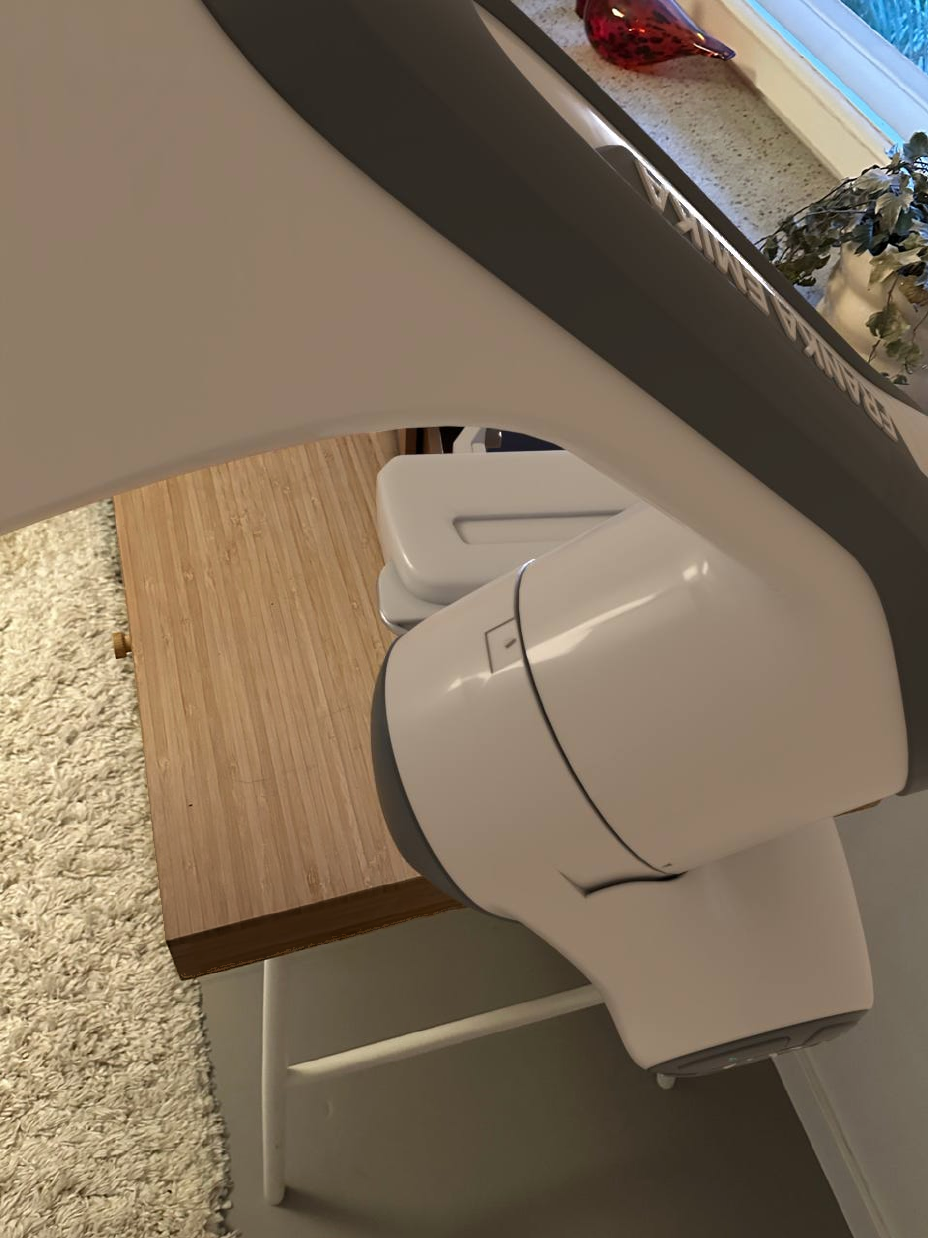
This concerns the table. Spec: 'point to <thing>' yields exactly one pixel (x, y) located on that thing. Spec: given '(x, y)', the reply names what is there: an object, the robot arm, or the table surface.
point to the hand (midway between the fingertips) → (579, 405)
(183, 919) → the table surface
